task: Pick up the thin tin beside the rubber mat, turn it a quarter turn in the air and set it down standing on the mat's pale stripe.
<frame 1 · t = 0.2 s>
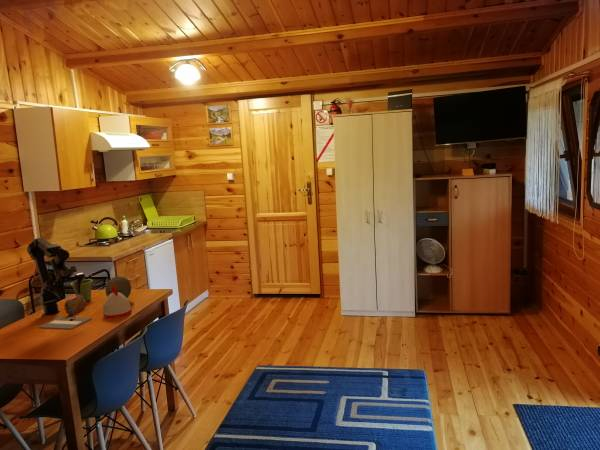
hand: (70, 296, 232), 15 cm above the table, tool tilted 30°, fingers open, 9 cm apart
plant pot: (84, 300, 276), on the table
tin: (76, 312, 255), on the table
cantaloupe: (120, 303, 266), on the table
kitchen timer: (117, 314, 247), on the table
mat: (65, 323, 237), on the table
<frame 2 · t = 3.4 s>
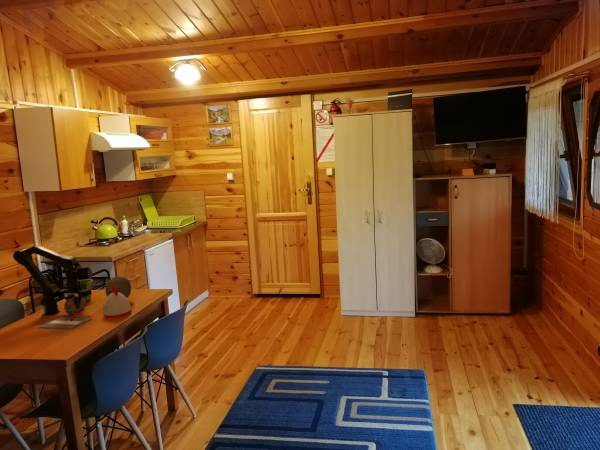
hand: (76, 308, 255), 2 cm above the table, tool pointing down, fingers closed on tin, 3 cm apart
tin: (76, 312, 255), on the table, touching gripper
everything else where it was.
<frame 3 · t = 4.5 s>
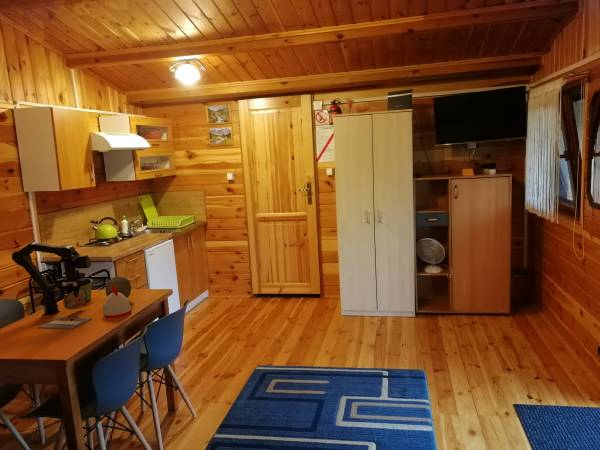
hand: (74, 297, 254), 8 cm above the table, tool pointing down, fingers closed on tin, 3 cm apart
tin: (75, 306, 255), point 3 cm above the table, touching gripper
everything else where it was.
when the fingers open (4 cm above the table, at t = 8.7 s): tin stays where it is, resting on mat.
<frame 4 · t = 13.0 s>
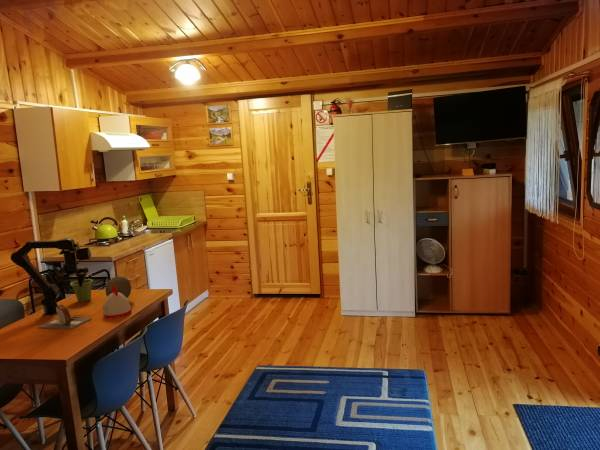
hand: (74, 289, 255), 12 cm above the table, tool pointing down, fingers open, 9 cm apart
tin: (64, 322, 237), resting on mat
everything else where it was.
at the end: tin inside the target area on the mat (0.4 cm from its centre), point 0.4 cm above the mat's base; tin tilted 0°; tin touching mat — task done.
